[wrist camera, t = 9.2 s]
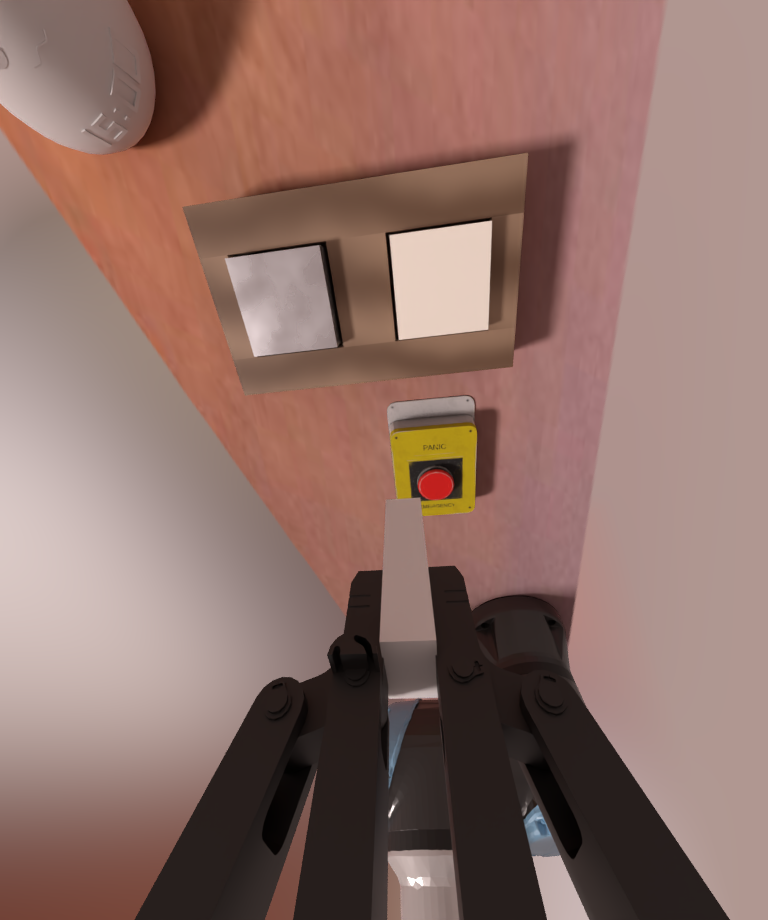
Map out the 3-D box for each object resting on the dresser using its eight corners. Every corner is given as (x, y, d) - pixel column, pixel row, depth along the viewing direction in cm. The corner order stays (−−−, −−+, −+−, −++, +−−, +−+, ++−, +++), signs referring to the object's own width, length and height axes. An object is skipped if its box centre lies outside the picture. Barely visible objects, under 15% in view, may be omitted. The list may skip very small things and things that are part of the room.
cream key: (478, 323, 29) (488, 329, 26) (398, 333, 30) (398, 339, 27) (480, 226, 26) (492, 220, 23) (390, 239, 26) (389, 235, 23)
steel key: (343, 339, 30) (337, 347, 27) (267, 348, 31) (254, 356, 28) (327, 248, 27) (319, 245, 24) (243, 259, 27) (224, 258, 24)
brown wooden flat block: (498, 355, 33) (512, 366, 29) (261, 381, 35) (244, 395, 31) (507, 170, 26) (528, 152, 22) (212, 215, 28) (182, 206, 24)
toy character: (142, 201, 27) (-13, 158, 17) (2, 80, 24) (-298, -66, 14) (200, 63, 23) (43, -104, 13) (41, -104, 20) (-338, -506, 10)
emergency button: (398, 534, 39) (384, 416, 32) (398, 511, 43) (385, 401, 36) (478, 529, 39) (483, 407, 31) (470, 506, 42) (473, 392, 35)
